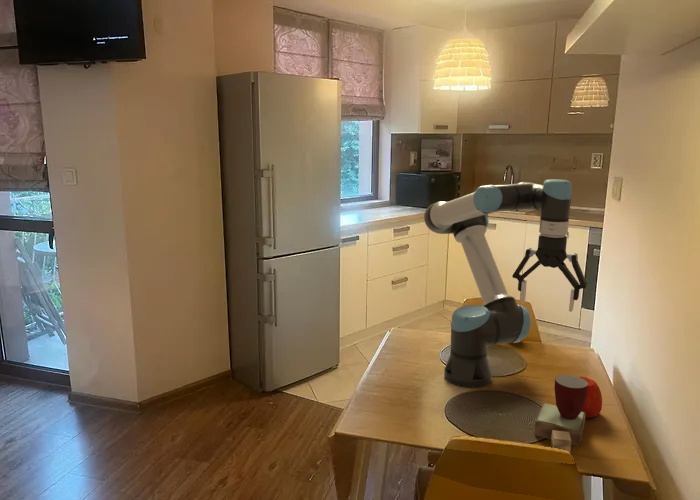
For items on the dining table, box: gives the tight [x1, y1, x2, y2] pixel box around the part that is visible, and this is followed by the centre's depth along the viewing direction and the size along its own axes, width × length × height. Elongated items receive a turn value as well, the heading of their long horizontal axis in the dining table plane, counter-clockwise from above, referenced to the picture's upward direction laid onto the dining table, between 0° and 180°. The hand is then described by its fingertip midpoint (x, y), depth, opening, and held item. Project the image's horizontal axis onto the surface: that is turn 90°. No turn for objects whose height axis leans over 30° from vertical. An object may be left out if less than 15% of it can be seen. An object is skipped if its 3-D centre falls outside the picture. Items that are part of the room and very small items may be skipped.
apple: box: [579, 376, 603, 419], centre depth 151 cm, size 11×11×11 cm
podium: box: [534, 402, 586, 447], centre depth 142 cm, size 11×11×4 cm
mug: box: [553, 374, 588, 420], centre depth 139 cm, size 10×8×10 cm
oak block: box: [550, 430, 572, 453], centre depth 134 cm, size 4×4×4 cm
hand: (546, 306), depth 155 cm, fingers open, 13 cm apart
